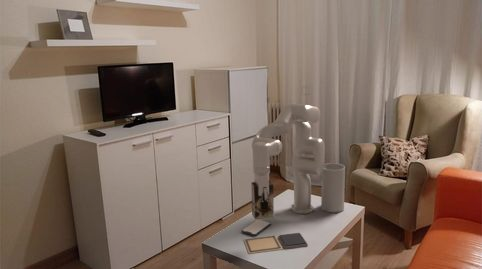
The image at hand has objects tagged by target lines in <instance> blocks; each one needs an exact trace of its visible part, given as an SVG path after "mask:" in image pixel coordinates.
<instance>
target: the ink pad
mask: <svg viewBox="0 0 482 269" xmlns="http://www.w3.org/2000/svg"><path fill="white" fill-rule="evenodd" d="M277 239H278V240H279V242H280V244H281V246H282V247H283V248H284V250H288V249H296V248H303V247H308V246H309V245H308V243H307V241H306V240H305V238H304V236H303V234H301V233H300V232H294V233H286V234H279V235H278V237H277Z"/></svg>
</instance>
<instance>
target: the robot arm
mask: <svg viewBox="0 0 482 269" xmlns="http://www.w3.org/2000/svg"><path fill="white" fill-rule="evenodd" d="M320 119H321V110H320V109H319V107H317V106H312V105H309V104H301V103H300V104H299V103H288V104H286V105H284V107H283V108H282V110H281V111H280V112H279V114H278V116H277V117H276V120H275V121H273V122H271V123H268V125H265V126H263V127H262V128H261V129H259V130H258V132H257V133H256V134H255V136H254V138H252V142H251V149H252V169H253V170H252V171H253V173H252V174H254V177H253V178H254V181H253V182H255V183H256V185H257V186H258V196H261V210H266V209H268V195H269V181H270V179H269V174H270V173H271V160H270V158H271V157H274V156H278V155H280V153H281V152H282V151H283V143H282V142H281V141H280V140H279V139H275V138H274V137H278V136H282V135H286V134H288V133H289V132H290V131H291V129H292V127H293V126H294V127H295V141H294V142H295V147H294V148H295V151H296V152H297V153H299V154H303V155H296V156H294V157H293V158H292V161H291V167H292V168H291V169H292V172H293V173H292V174H293V204H292V205H291V207H290V208H291V211H292V212H294V213H296V214H298V215H299V214H301V215H303V214H310V213H312V212H313V211H314V209H315V207H314V206H313V205H312V179H311V177H310V175H312V176H322V173H323V170H324V164H325V152H326V151H325V150H326V149H325V147H326V146H325V142H324V140H323V139H322V138H319V137H313V136H312V126H311V124H316V123H318V122H319V121H320ZM307 155H309V156H307ZM310 155H311V156H310ZM262 193H264V195H262ZM263 196H264V198H263Z"/></svg>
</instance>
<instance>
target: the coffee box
mask: <svg viewBox="0 0 482 269" xmlns="http://www.w3.org/2000/svg"><path fill="white" fill-rule="evenodd" d="M250 183H251V185H250V186H251V215H252V217H253V218H254V221H256V220H263V219H265V220H266V219H270V218H275V214H274V213H275V212H274V209H275V208H274V206H275V205H274V197H275V196H274V184H273V183H272V181H270V180H269V195H268V209H266V210H261V196H258V186H257V185H256V183H255V182H254V181H253V182H250ZM262 195H264V193H262ZM263 198H264V196H263Z"/></svg>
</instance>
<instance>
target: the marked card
mask: <svg viewBox="0 0 482 269" xmlns="http://www.w3.org/2000/svg"><path fill="white" fill-rule="evenodd" d="M243 242H244V244H245V247H246V249H247V252H248V254H249V255H251V254H258V253H267V252H273V251H279V250H280V251H281V250H284V249H283V248H284V247H283V245H282V243H281V242H280V240H279V238H278V237H277V236H276V234H275V235H268V236H260V237H258V236H257V237H252V238H244V239H243Z"/></svg>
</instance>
